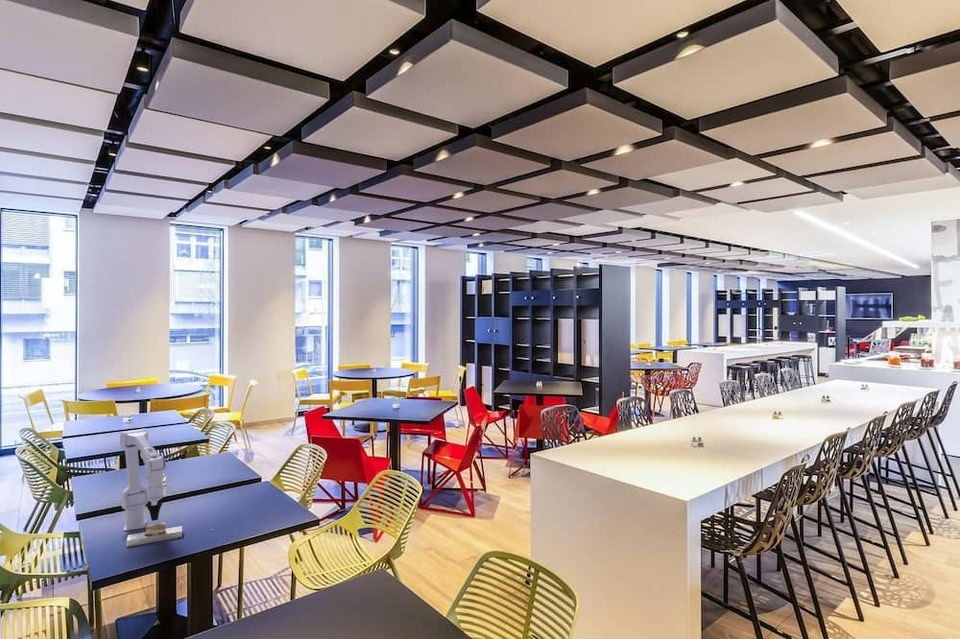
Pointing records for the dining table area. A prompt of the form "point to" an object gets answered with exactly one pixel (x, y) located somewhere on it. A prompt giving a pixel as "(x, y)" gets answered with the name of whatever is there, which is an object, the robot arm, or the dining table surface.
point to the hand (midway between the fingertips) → (155, 517)
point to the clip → (155, 528)
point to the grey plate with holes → (154, 536)
